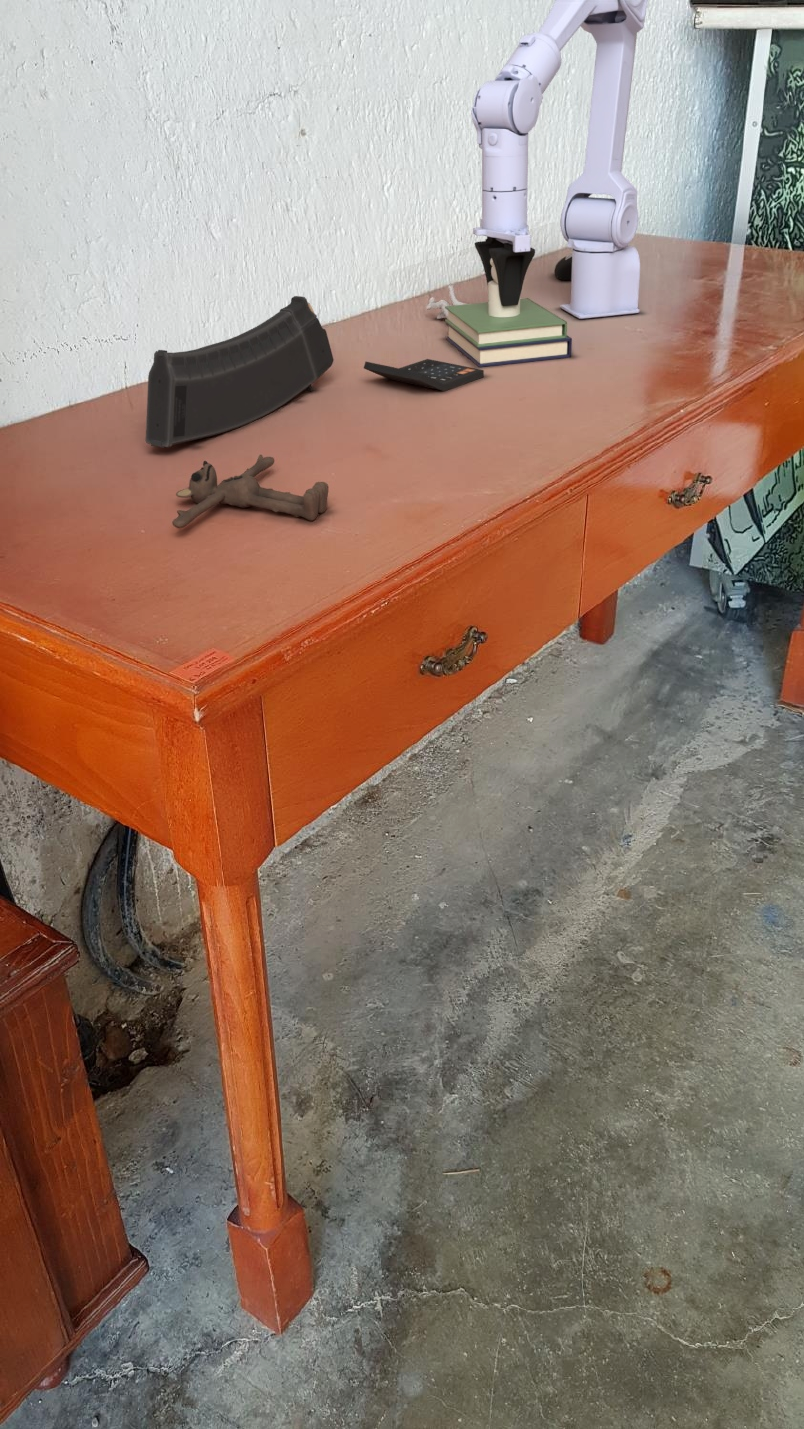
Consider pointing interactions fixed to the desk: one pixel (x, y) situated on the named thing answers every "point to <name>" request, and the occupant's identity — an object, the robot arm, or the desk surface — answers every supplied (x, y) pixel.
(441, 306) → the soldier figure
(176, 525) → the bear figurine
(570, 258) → the computer mouse
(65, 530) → the desk surface
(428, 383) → the calculator
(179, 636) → the desk surface
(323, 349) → the magazine
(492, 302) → the toy bear
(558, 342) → the book stack
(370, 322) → the desk surface
